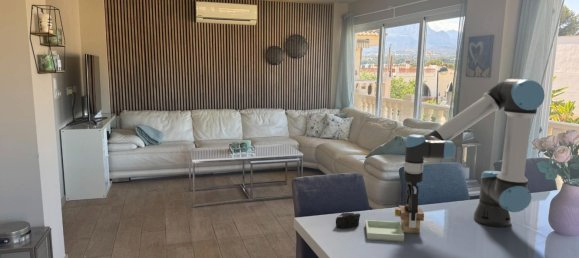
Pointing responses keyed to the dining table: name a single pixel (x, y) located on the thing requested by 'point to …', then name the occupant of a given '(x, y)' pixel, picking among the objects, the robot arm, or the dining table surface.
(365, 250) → the dining table surface
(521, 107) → the robot arm
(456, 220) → the dining table surface
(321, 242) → the dining table surface
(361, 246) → the dining table surface
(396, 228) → the tray
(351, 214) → the mineral
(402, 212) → the ring
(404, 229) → the block with upright handle
